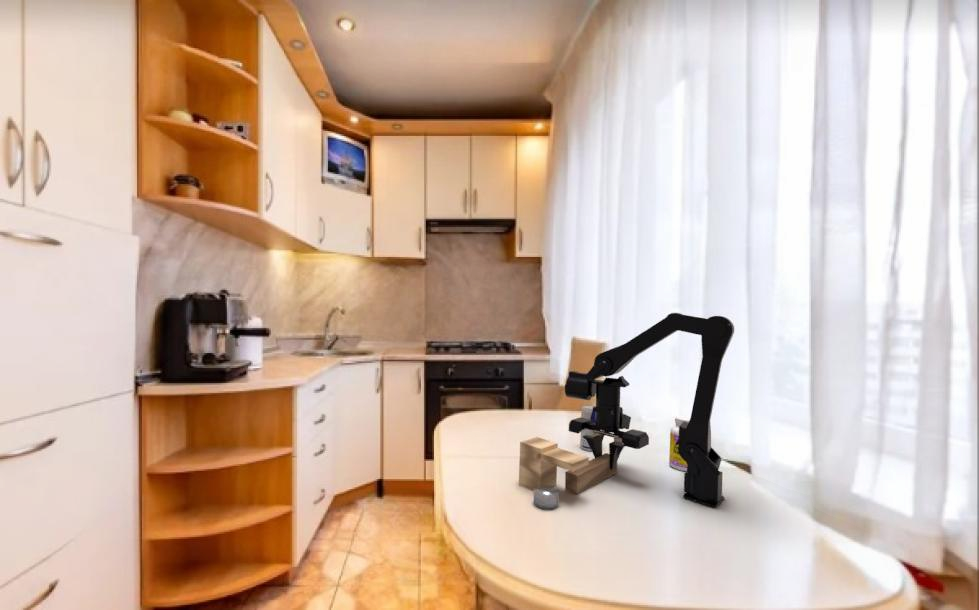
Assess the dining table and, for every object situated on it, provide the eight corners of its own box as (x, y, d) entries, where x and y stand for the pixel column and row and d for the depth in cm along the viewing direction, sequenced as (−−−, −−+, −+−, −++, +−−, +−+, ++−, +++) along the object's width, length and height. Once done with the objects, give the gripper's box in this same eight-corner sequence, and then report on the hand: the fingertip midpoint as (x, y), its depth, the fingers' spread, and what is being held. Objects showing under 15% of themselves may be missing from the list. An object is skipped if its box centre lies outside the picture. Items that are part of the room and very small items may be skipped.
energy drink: (601, 452, 118) (602, 409, 118) (582, 451, 118) (583, 408, 118) (596, 446, 123) (597, 405, 123) (578, 445, 123) (579, 404, 123)
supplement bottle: (668, 469, 106) (669, 418, 106) (670, 461, 112) (671, 413, 112) (697, 474, 103) (698, 422, 103) (697, 466, 109) (699, 417, 109)
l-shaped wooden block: (587, 497, 88) (588, 452, 88) (571, 506, 83) (572, 459, 84) (535, 477, 98) (536, 437, 98) (518, 484, 93) (520, 442, 93)
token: (563, 505, 84) (564, 490, 84) (548, 513, 80) (548, 497, 81) (544, 497, 88) (544, 482, 88) (528, 504, 84) (529, 489, 84)
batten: (616, 472, 102) (617, 456, 102) (576, 494, 89) (577, 475, 89) (605, 468, 104) (606, 453, 104) (565, 490, 91) (565, 471, 91)
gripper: (659, 405, 100) (657, 470, 100) (591, 393, 114) (589, 450, 113) (639, 412, 93) (637, 482, 92) (568, 398, 106) (566, 459, 105)
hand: (605, 467), depth 101 cm, fingers closed on batten, 3 cm apart
